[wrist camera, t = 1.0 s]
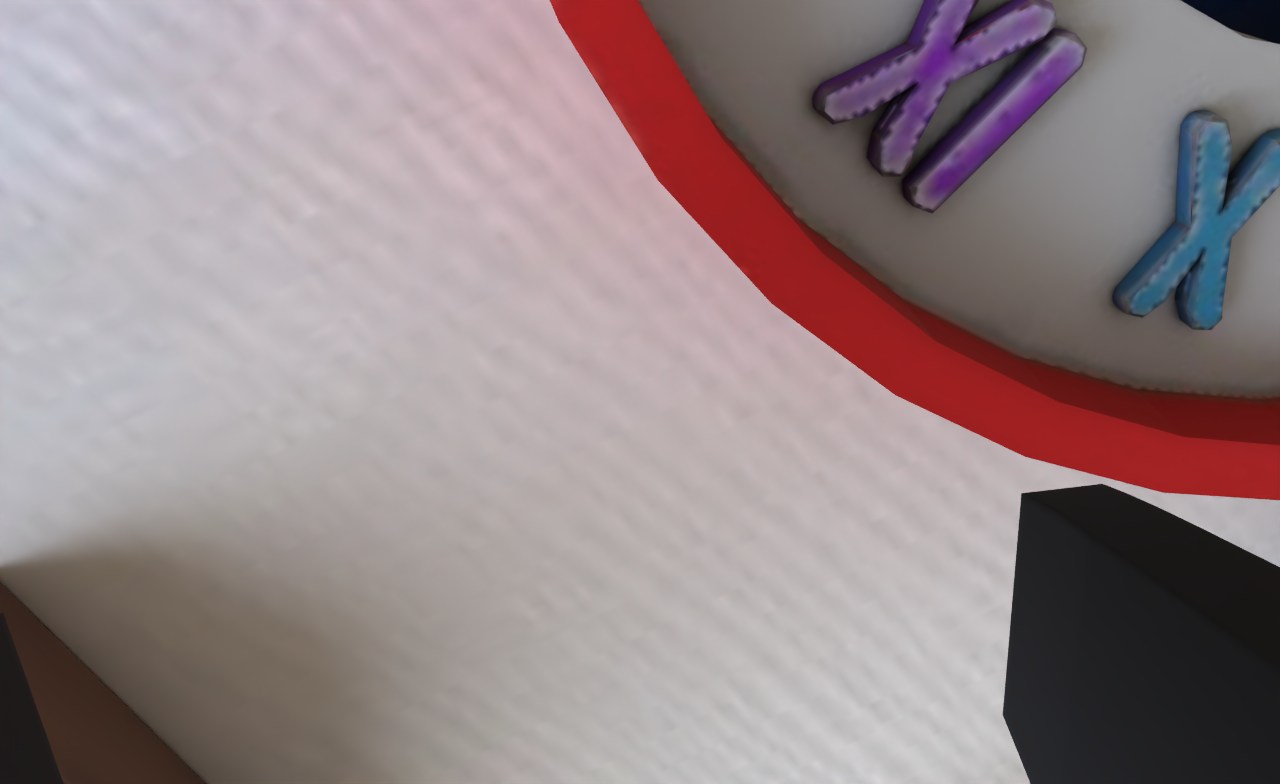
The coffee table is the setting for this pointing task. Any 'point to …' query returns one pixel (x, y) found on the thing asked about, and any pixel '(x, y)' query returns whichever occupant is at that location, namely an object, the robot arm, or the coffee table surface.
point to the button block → (86, 714)
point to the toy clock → (993, 205)
